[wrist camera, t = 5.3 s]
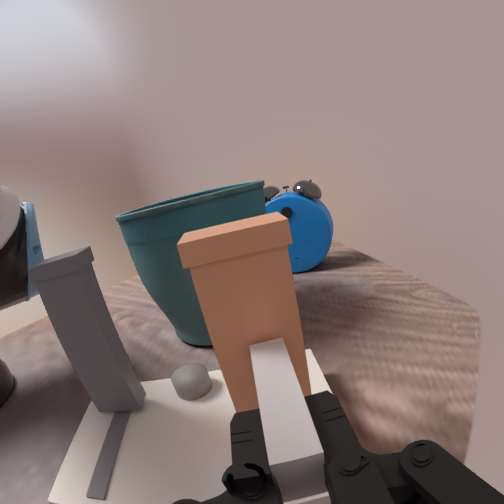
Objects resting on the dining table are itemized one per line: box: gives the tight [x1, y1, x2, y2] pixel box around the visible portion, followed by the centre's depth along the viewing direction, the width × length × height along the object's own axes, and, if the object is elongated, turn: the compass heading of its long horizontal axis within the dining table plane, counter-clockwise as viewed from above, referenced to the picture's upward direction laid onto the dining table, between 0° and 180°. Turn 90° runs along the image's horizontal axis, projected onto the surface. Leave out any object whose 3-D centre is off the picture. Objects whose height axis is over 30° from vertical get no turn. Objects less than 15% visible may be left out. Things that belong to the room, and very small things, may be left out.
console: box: [48, 349, 332, 504], centre depth 18 cm, size 14×20×4 cm
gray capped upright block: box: [27, 246, 146, 412], centre depth 19 cm, size 2×4×12 cm, turn 96°
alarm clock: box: [263, 180, 333, 272], centre depth 51 cm, size 13×6×15 cm, turn 72°
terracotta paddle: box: [177, 212, 312, 413], centre depth 14 cm, size 2×4×12 cm, turn 96°
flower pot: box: [115, 180, 266, 345], centre depth 37 cm, size 18×18×17 cm
